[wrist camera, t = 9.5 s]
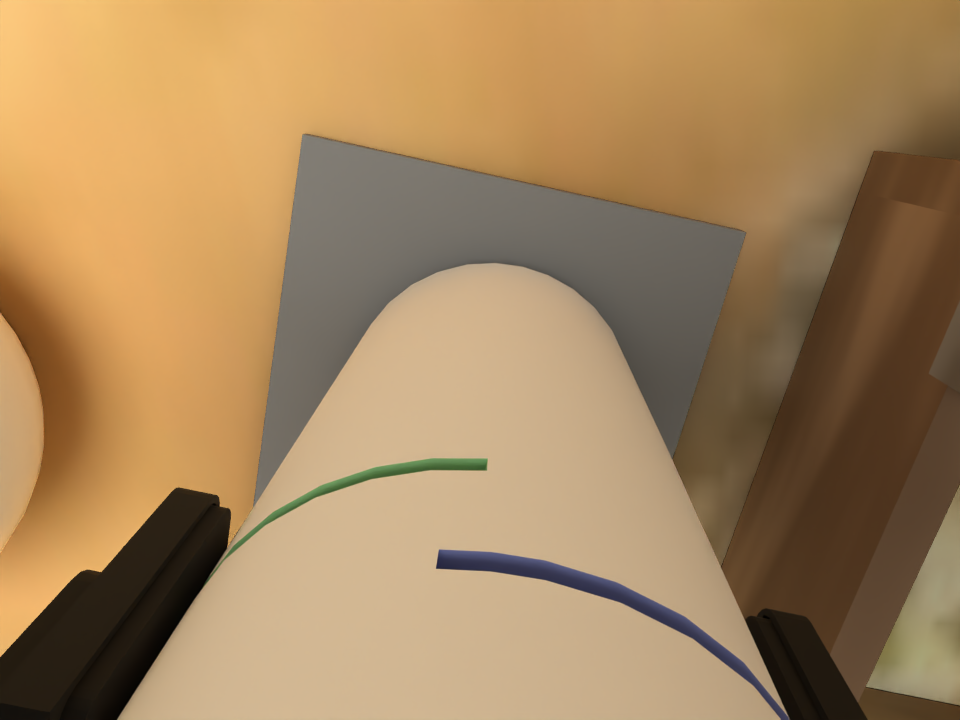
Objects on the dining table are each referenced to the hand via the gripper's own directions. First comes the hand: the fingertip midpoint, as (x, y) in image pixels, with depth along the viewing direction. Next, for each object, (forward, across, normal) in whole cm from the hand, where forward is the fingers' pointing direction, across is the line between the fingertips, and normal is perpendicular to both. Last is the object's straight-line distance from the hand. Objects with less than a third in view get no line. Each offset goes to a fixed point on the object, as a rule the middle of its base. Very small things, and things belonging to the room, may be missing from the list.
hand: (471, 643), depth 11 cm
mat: (+10, 0, 0) cm, 10 cm away
